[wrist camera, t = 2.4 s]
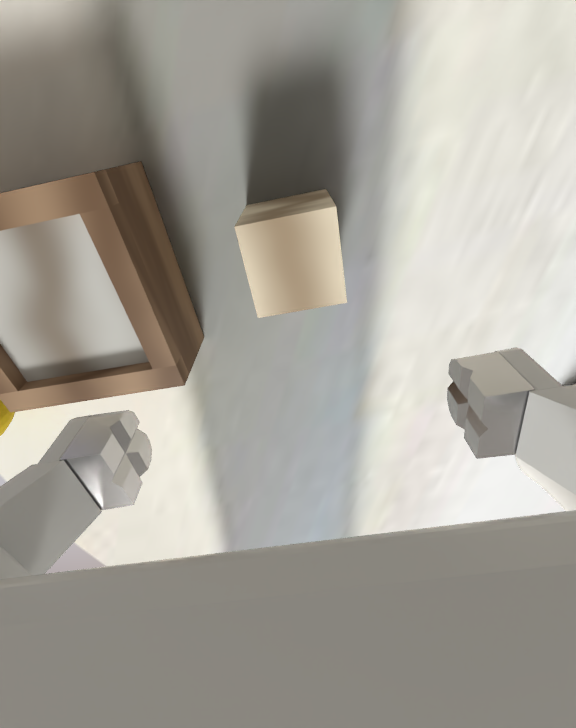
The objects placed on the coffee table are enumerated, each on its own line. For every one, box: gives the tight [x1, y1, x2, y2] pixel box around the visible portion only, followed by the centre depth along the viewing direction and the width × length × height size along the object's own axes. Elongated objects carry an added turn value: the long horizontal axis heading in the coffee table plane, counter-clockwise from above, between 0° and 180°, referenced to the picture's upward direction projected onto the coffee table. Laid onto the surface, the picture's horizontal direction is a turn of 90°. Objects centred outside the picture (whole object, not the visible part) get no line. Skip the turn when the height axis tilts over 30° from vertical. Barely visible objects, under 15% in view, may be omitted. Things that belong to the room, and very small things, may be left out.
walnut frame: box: [0, 161, 204, 413], centre depth 23 cm, size 12×12×6 cm
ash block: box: [235, 189, 347, 318], centre depth 21 cm, size 5×5×6 cm
